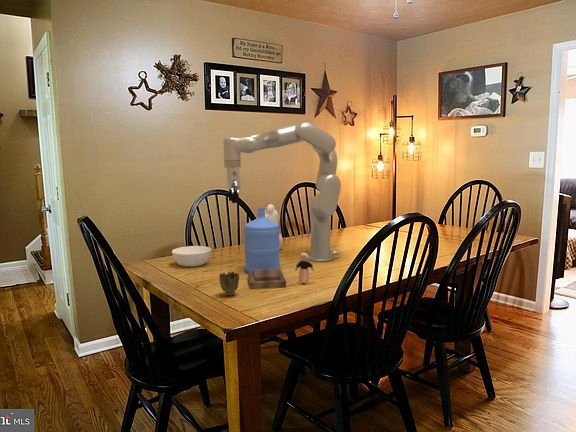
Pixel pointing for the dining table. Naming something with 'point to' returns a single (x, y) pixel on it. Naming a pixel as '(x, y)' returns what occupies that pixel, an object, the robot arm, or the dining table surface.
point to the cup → (229, 283)
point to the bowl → (191, 255)
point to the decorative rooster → (273, 219)
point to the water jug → (261, 243)
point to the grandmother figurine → (304, 269)
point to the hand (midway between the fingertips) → (233, 201)
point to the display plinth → (267, 283)
